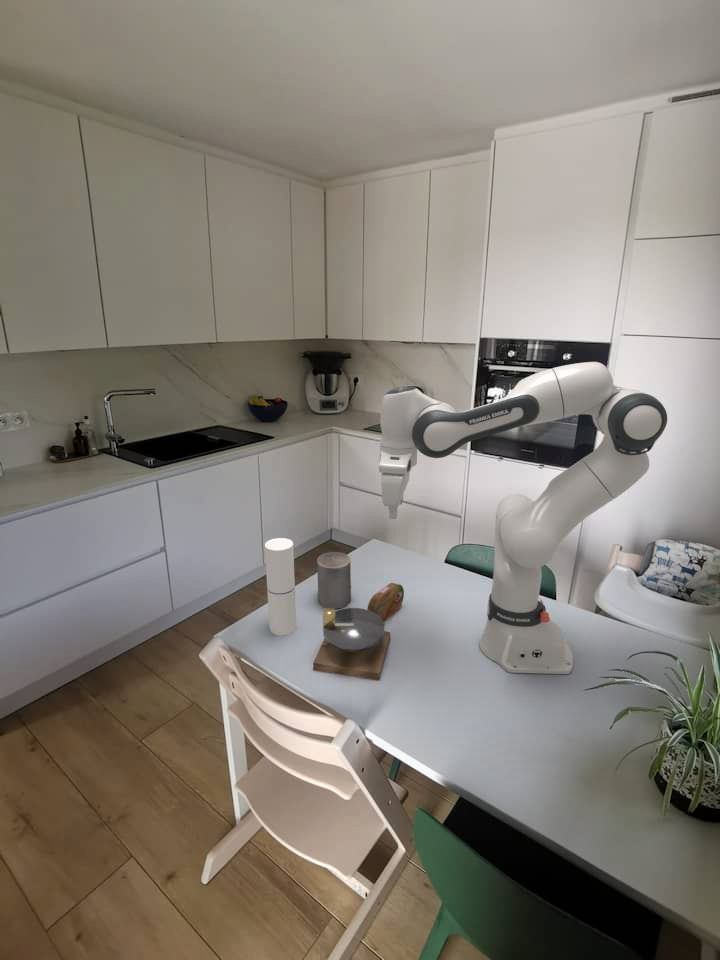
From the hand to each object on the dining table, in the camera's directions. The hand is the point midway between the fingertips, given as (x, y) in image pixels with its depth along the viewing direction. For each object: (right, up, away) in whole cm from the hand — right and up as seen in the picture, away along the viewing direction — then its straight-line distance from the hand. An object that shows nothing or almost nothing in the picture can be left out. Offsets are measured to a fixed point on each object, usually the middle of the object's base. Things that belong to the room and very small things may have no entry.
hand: (396, 510), depth 122 cm
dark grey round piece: (-10, -30, +1) cm, 32 cm away
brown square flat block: (-10, -36, +3) cm, 38 cm away
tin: (-2, -31, +19) cm, 36 cm away
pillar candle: (-16, -28, +26) cm, 42 cm away
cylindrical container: (-30, -33, +13) cm, 46 cm away
